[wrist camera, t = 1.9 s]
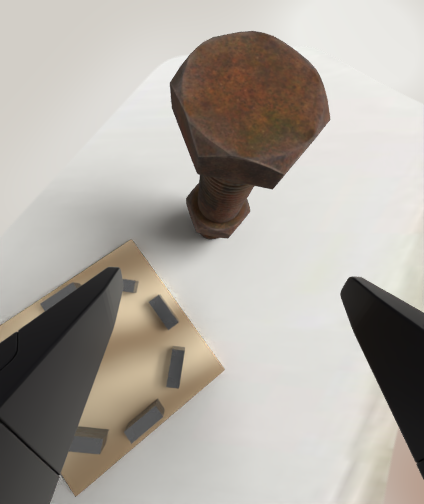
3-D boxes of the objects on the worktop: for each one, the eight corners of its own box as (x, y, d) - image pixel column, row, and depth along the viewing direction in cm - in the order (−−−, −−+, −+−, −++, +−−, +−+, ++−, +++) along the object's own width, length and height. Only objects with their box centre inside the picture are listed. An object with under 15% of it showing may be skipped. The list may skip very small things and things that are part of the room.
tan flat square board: (223, 367, 20) (224, 370, 20) (79, 490, 18) (75, 496, 17) (132, 240, 21) (131, 239, 21) (-15, 338, 19) (-21, 339, 18)
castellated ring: (213, 368, 19) (214, 373, 18) (78, 481, 17) (70, 495, 16) (128, 249, 21) (125, 247, 19) (-8, 341, 18) (-22, 344, 17)
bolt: (246, 243, 22) (356, 147, 8) (198, 261, 22) (215, 191, 7) (225, 190, 23) (287, 10, 8) (177, 205, 22) (154, 35, 8)
